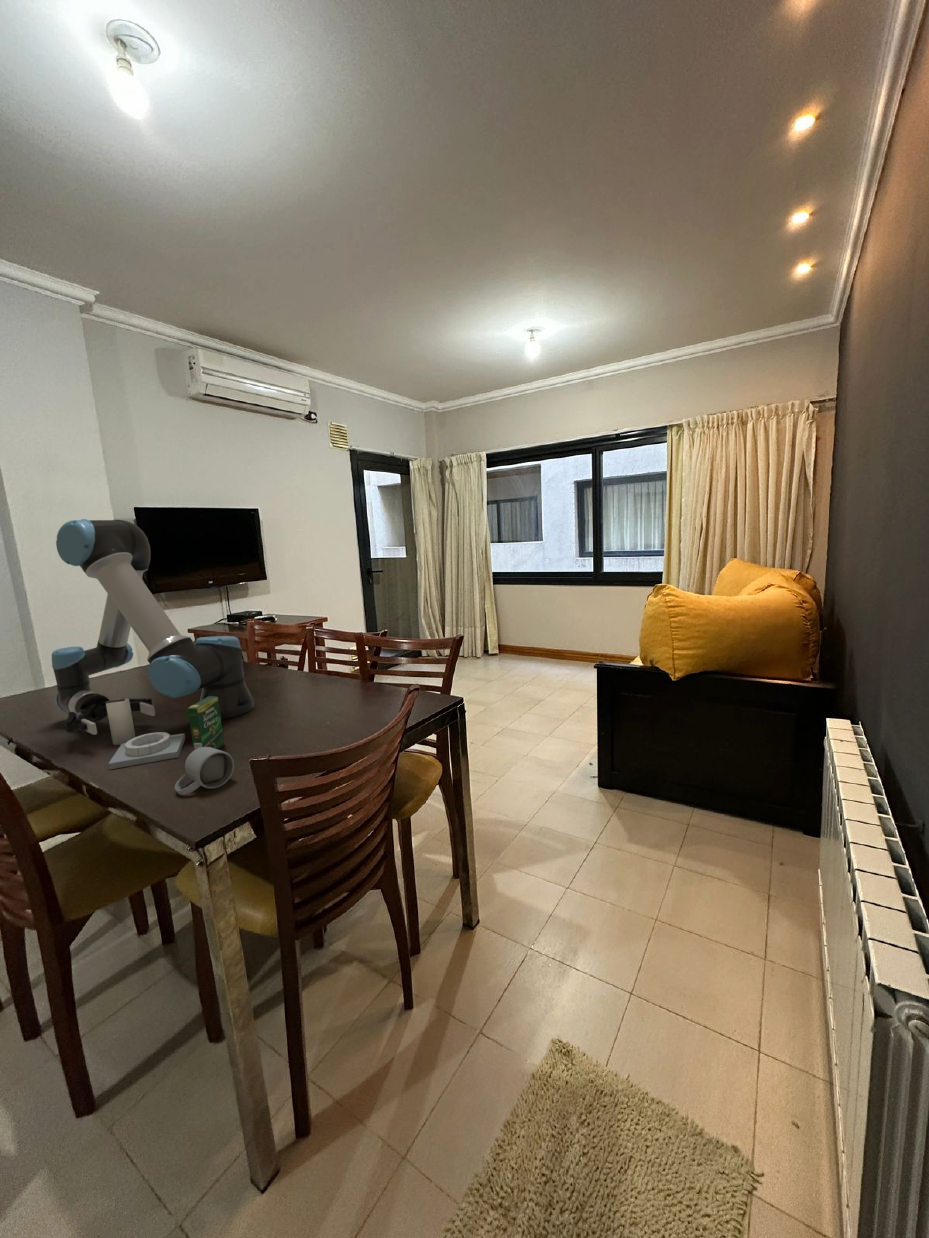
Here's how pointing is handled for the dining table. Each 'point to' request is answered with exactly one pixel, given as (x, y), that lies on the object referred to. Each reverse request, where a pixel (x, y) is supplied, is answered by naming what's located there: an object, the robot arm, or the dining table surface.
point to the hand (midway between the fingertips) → (125, 719)
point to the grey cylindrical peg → (120, 720)
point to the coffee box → (206, 723)
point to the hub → (147, 749)
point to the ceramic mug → (206, 769)
